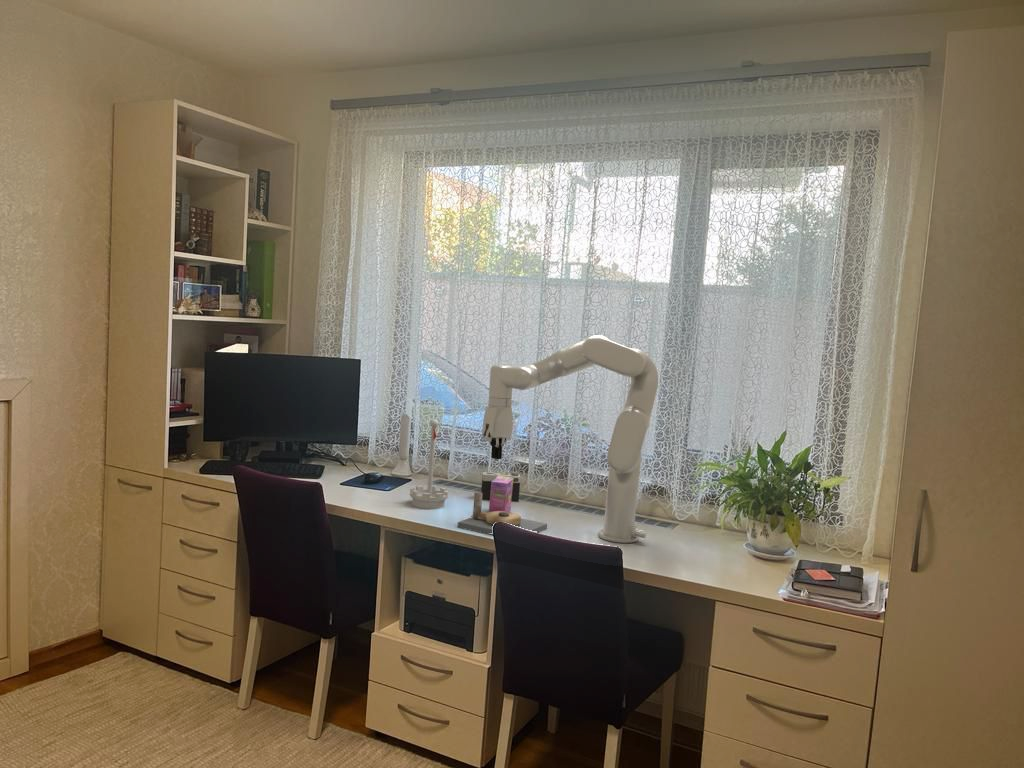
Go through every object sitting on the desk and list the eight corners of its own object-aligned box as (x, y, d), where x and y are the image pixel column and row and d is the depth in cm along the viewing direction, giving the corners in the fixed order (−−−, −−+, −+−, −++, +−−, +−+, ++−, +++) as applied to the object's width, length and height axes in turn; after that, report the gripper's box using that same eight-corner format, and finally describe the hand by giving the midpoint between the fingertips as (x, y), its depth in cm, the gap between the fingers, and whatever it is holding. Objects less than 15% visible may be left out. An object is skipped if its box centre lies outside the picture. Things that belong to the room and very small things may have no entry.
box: (504, 517, 269) (507, 483, 268) (488, 515, 270) (490, 481, 269) (511, 511, 279) (513, 477, 278) (495, 509, 280) (497, 475, 279)
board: (549, 527, 261) (549, 521, 261) (519, 540, 243) (519, 534, 242) (489, 514, 272) (489, 509, 271) (456, 526, 253) (456, 520, 253)
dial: (524, 520, 260) (526, 496, 259) (514, 528, 249) (516, 502, 248) (478, 513, 264) (480, 489, 263) (466, 520, 254) (468, 495, 253)
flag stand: (406, 500, 283) (411, 416, 281) (442, 500, 287) (448, 417, 285) (413, 509, 271) (419, 421, 268) (451, 509, 275) (457, 422, 272)
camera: (481, 502, 289) (483, 475, 288) (480, 497, 297) (482, 470, 296) (519, 504, 290) (522, 477, 289) (517, 499, 298) (519, 472, 297)
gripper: (507, 400, 269) (503, 454, 271) (475, 402, 259) (471, 458, 260) (523, 403, 264) (520, 458, 266) (491, 405, 253) (488, 462, 255)
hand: (496, 458), depth 263 cm, fingers closed
